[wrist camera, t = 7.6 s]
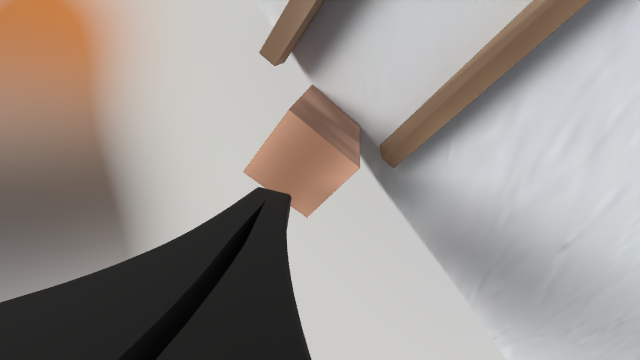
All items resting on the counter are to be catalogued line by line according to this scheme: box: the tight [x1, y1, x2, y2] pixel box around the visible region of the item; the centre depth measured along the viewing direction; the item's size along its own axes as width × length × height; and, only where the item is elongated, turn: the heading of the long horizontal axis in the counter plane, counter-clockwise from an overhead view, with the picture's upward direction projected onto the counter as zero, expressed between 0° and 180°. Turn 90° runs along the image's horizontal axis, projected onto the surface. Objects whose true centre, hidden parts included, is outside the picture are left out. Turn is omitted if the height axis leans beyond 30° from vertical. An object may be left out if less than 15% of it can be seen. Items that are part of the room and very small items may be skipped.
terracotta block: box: [243, 85, 360, 217], centre depth 14 cm, size 4×4×6 cm
